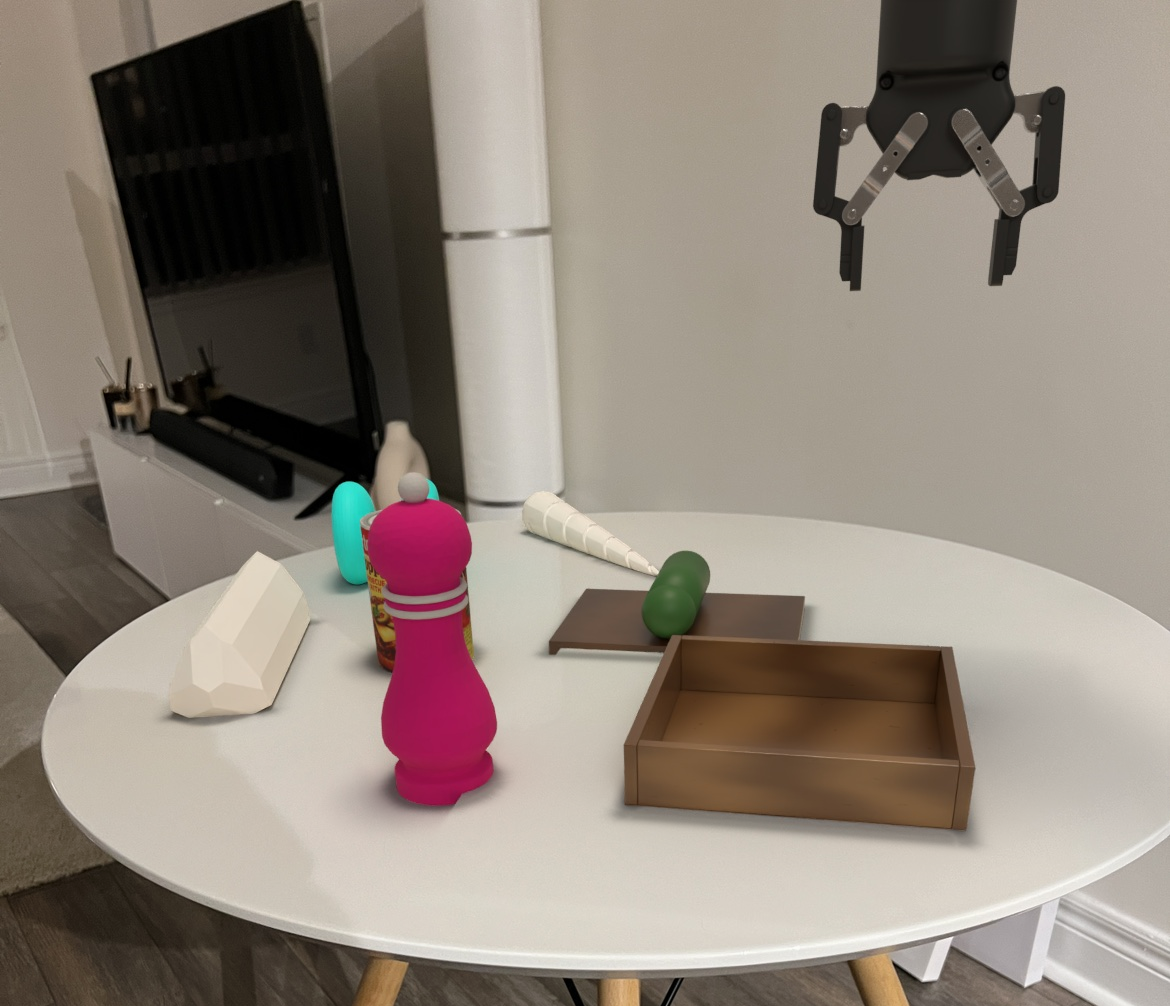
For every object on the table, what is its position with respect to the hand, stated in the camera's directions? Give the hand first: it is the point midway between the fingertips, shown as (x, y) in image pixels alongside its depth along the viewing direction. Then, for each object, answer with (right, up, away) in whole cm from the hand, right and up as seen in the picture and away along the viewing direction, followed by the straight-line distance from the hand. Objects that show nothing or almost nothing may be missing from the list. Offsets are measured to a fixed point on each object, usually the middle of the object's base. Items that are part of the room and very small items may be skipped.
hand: (924, 287), depth 70 cm
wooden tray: (-8, -30, +3) cm, 31 cm away
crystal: (-49, -22, +21) cm, 58 cm away
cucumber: (-13, -17, +24) cm, 32 cm away
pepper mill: (-31, -32, +1) cm, 44 cm away
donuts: (-41, -11, +42) cm, 59 cm away
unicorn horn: (-21, -7, +48) cm, 53 cm away
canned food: (-35, -22, +21) cm, 46 cm away
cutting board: (-13, -19, +25) cm, 34 cm away
